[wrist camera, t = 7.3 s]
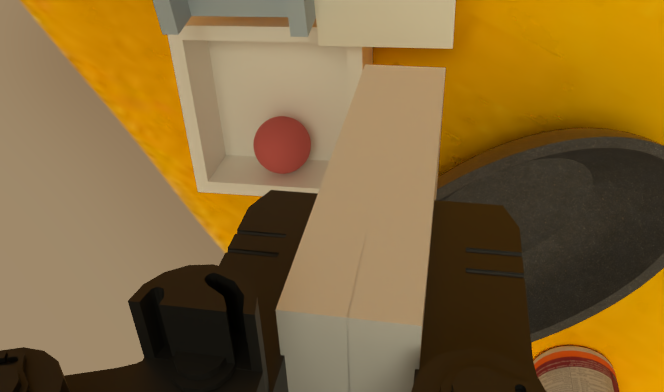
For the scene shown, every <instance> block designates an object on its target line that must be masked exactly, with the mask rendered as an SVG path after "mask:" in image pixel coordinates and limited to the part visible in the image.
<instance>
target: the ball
mask: <svg viewBox="0 0 664 392" xmlns="http://www.w3.org/2000/svg"><path fill="white" fill-rule="evenodd" d="M253 146H254V152H255V155H256V158H257V160H258V161H259V162H260V164H261V165H262V166H263V167H265V168H266V169H267V170H269V171H271V172H274V173H278V174H286V173H291V172H293V171H296V170H297V169H299V168H300V167H301V166H302V165H303V164H304V163H305V162H306V161H307V159H308V157H309V154H310V150H311V140H310V136H309V133H308V131H307V130H306V128H305V127H304V126H303V125H302V124H301V123H300V122H299V121H297V120H296V119H293V118H291V117H286V116H278V117H273V118H271V119H269V120H267V121H265V122H264V123H263V124H262V125H261V126H260V127H259V129H258V130H257V132H256V134H255V137H254V143H253Z"/></svg>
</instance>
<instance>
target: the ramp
mask: <svg viewBox="0 0 664 392" xmlns="http://www.w3.org/2000/svg"><path fill="white" fill-rule="evenodd" d="M153 3H154V7H155V10H156V13H157V17H158V20H159V24H160V27H161V30H162V34H167V35H179V33H180V32H181V31H182V29H183V28H184V26H185V25H186V23H187V22H188V20H189V19H190V18H191V16H225V17H288V20H289V28H290V35H291V37H308V36H309V33H310V31H311V28H312V26H313V23H314V21H315V18H316V24H317V33H318V43H319V46H345V47H395V48H445V49H453V40H454V23H455V5H456V0H153Z"/></svg>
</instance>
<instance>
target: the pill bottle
mask: <svg viewBox="0 0 664 392" xmlns="http://www.w3.org/2000/svg"><path fill="white" fill-rule="evenodd" d="M533 363H534V367H535V370H536V374H537V376H538V378H539V380H540V382H541V383H542V385H543V387H544V389H545V390H546V391H547V392H619V388H618V383H617V379H616V375H615V372H614V369H613V367H612V365H611V364H610V362H609V361H608V360H607V359H606V358H605V357H604V356H602V355H601V354H599V353H597V352H596V351H593V350H591V349H588V348H584V347H579V346H560V347H556V348H553V349H550V350H548V351H546V352H544V353H542V354H541V355H539V356H538V357H537V358H536V359H535V360H534V361H533Z"/></svg>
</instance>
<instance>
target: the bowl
mask: <svg viewBox="0 0 664 392" xmlns="http://www.w3.org/2000/svg"><path fill="white" fill-rule="evenodd" d="M436 200H440V201H453V202H466V203H479V204H492V205H503V206H504V208H505V209H506V210H507V212H508V213H509V214H510V216H511V217H512V218H513V220H514V221H515V222H516V224H517V225H518V226H519V228H520V237H521V247H522V257H523V267H524V279H525V287H526V297H527V307H528V317H529V327H530V337H531V342H533V341H536V340H539V339H542V338H544V337H547V336H549V335H552V334H554V333H557V332H559V331H561V330H564V329H566V328H568V327H571V326H573V325H575V324H577V323H579V322H581V321H583V320H585V319H587V318H589V317H591V316H593V315H595V314H597V313H599V312H601V311H602V310H604V309H606V308H608V307H610V306H611V305H613V304H615V303H616V302H618V301H620V300H621V299H623V298H624V297H626V296H628V295H629V294H630V293H632V292H633V291H635V290H636V289H638V288H639V287H641V286H642V285H643V284H645V283H646V282H647V281H648V280H650V279H651V278H652V277H654V276H655V275H656V274H657V273H658V272H659V271H660V270H662V269H663V268H664V146H663V145H661V144H659V143H657V142H654V141H652V140H650V139H647V138H645V137H642V136H638V135H635V134H631V133H628V132H623V131H617V130H611V129H600V128H572V129H561V130H554V131H548V132H543V133H539V134H534V135H530V136H527V137H523V138H520V139H517V140H514V141H511V142H508V143H505V144H502V145H500V146H497V147H495V148H492V149H490V150H488V151H485V152H483V153H481V154H479V155H477V156H475V157H473V158H471V159H469V160H467V161H465V162H463V163H461V164H459V165H458V166H456V167H454V168H453V169H451V170H449V171H447V172H446V173H444V174H443V175H441V176H440V177H438V181H437V194H436Z"/></svg>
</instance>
